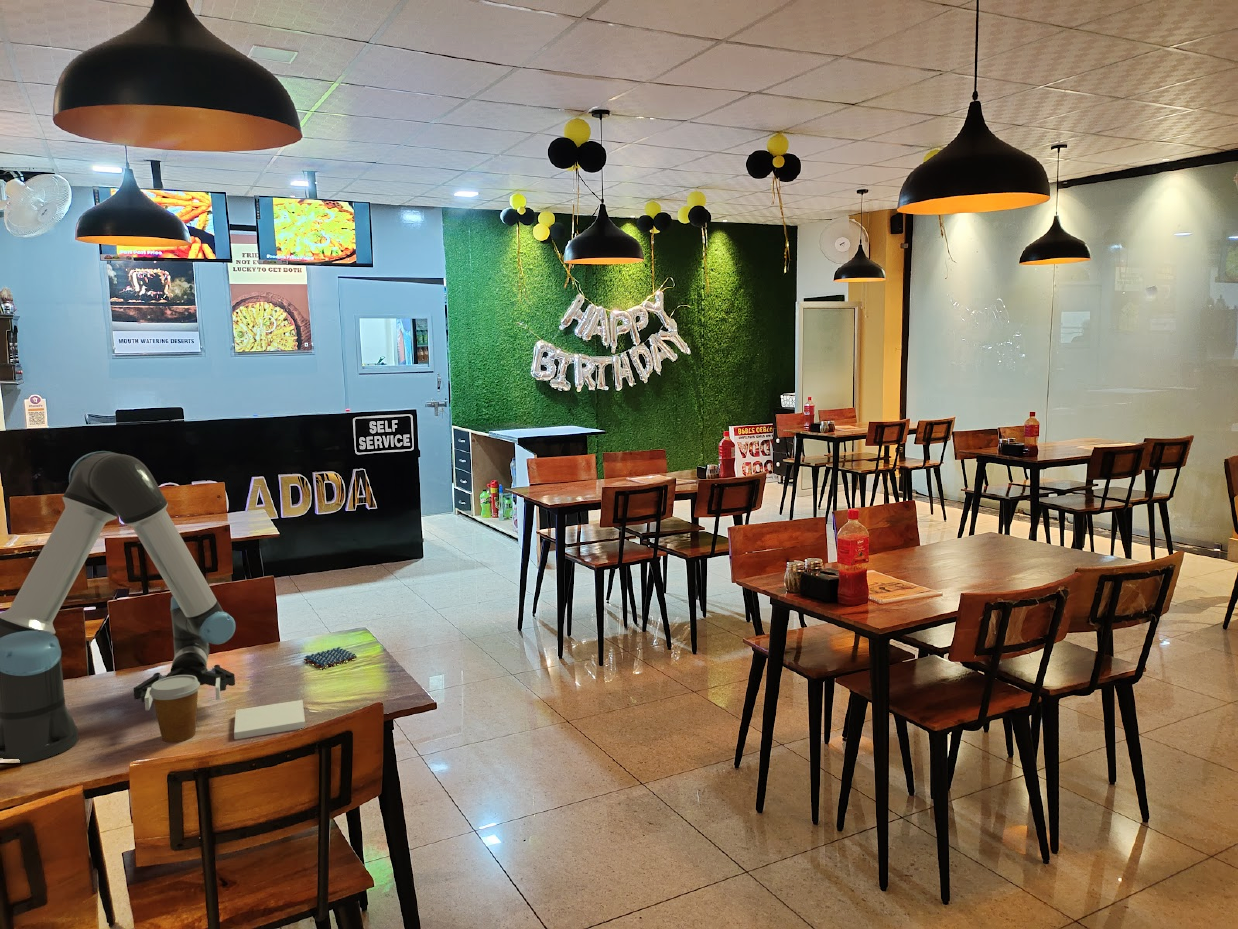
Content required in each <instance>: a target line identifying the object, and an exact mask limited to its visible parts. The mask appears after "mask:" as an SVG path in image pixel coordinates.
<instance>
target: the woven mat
mask: <svg viewBox="0 0 1238 929" xmlns="http://www.w3.org/2000/svg"><path fill="white" fill-rule="evenodd" d="M357 658H358V657H357V655H356V654H355V653H353V652H350V651H349V650H347V649H344V648H341V646H338V647H334V648H332V649H327V650H323V651H320V652H317V653H311V654H309V655H308V654H307V655H306V656H304V658H303V660H304V662H305V661H306V662H305V663H307V664H309V665H311V664H314V666H313V667H315V668H317V667H318V668H317V669H319V668H322V669H326V668H327V669H329V666H331V665H333V666H331V667H336V666H337V665H336V664H340V663H343V662H344V661H345V662H346V661H353V660H352V659H356V660H357ZM327 665H328V666H327ZM335 665H336V666H335ZM340 665H341V664H340ZM325 667H326V668H325Z"/></svg>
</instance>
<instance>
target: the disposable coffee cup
mask: <svg viewBox="0 0 1238 929" xmlns="http://www.w3.org/2000/svg"><path fill="white" fill-rule="evenodd" d="M200 686H201V685H200V682H198V680H197V677H195V676H192V675H177V676H171V677H166V678H163V679H160V680H158V681H156V682H154V683H153V684H152V686H151V690H150V691H149V693H150V695H151V697H152V698H153V700H152V703H153V705H154V711H155V714H156V720H157V723H158V728H159V732H160V735H161V741H163V742H164V743H169V744H174V743H181V742H185V741H188V740H190V739H192V738H194V736H196V728H197V727H196V726H197V714H198V713H197V709H198V695H199V694H198V693H199V689H200Z"/></svg>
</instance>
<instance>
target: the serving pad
mask: <svg viewBox="0 0 1238 929" xmlns="http://www.w3.org/2000/svg"><path fill="white" fill-rule="evenodd" d="M305 718H306V717H305V710H304V702H303V699H298V700H292V701H286V702H278V703H272V704H266V705H260V706H252V707H246V708H240V709H236V710H235V716H234V729H233V731H234V732H233V733H234V734H233V737H234V740H241V739H246V738H252V737H257V736H265V735H270V734H276V733H283V732H289V731H295V730H302V729H305V728H306V719H305ZM304 727H305V728H304ZM301 728H302V729H301Z"/></svg>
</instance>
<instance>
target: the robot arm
mask: <svg viewBox="0 0 1238 929" xmlns="http://www.w3.org/2000/svg"><path fill="white" fill-rule="evenodd" d="M68 474H69V475H68V483H69V484H68V487H67V488H66V490H65V492H64V494H63V495H62V497H61V498H62V501H63V504H64V510H63V512H62V513H61V515H60V517H59V519H58V520H57V522H56V524H55V526H54V528H53V529H52V531H51V533H50V535H49V537H48V538H47V540H46V542H45V544H44V545H43V547H42V549H41V551H40V553H39V555H38V557H37V559H36V560H35V562H34V564H33V566H32V567H31V570H30V571H29V572H28V575H27V576H26V578H25V580H24V582H23V584H22V586H21V588H20V589H19V591H18V593H17V594H16V596H15V598H14V600H13V602H12V603H11V606H10V607H9V608H8V609H7V610H5V611H1V612H0V758H3V759H19V760H20V763H21V764H26V763H32V762H37V761H42V760H44V759H48V758H51V757H54V756H57V755H59V754H61V753H64V752H66V751H68V750H70V749H71V748H73V747H74V746H75V745H76V744H77V743H78V741H79V729H78V726H77V724H76V723H75V721H74V719H73V717H72V715H71V713H70V712H69V710H68V707H67V706H66V699H65V686H64V678H63V677H64V676H63V667H62V649H61V648H62V647H61V646H60V641H59V638H58V637H57V636H56V635H55V634H56V632H57V631H56V630H55V629H56V628H54V624H53V622H54V620H55V618H56V616H57V614H58V613H59V611H60V609H61V607H62V606H63V604H64V601H65V600H66V598H67V596H68V595H69V592H70V590H71V588H72V586H73V585H74V583H75V582H76V579H77V577H78V575H79V574H80V571H81V570H82V568H83V566H84V564H85V562H86V560H87V559H88V557H89V555H90V553H91V552H92V550H93V548H94V546H95V544H96V542H97V540H98V538H99V536H100V534H101V532H102V531H103V529H104V526H105V525H106V523H108V522H111V521H114V520H117V518H118V516H119V518H120V520H121V521H122V522H123V525H125V526H130V527H131V528H132V529H133V531H134V532H135V534H136V537H137V538H138V539H139V541H140V542H141V544H142V546H143V548H144V550H145V551H146V553H147V554H148V556H149V558H150V560H151V561H152V563H153V564H154V566H155V568H156V570H157V571H158V573H159V575H160V576H161V577H162V580H163V581H164V583H165V585H166V586H167V588H168V589H169V592H170V594H171V595H172V596H171V598H170V616H171V623H172V624H171V625H172V634H173V635H172V636H173V637H172V638H173V652H174V655H173V656H174V657H173V660H172V663H171V668H170V671H169V672H168V673H167V674H165V675H162V674H161V672H155V673H153V675H152V676H151V677H149V678H147V679H146V680H144V681H142V682H141V683H139V684H137V685H136V686H135V687H133V690H132V691H133V700H135V701H136V700H140V702H141V703H144V706H145V707H144V708H145V709H144V710H145V711H150V710H151V707H152V703H153V698H152V697H151V695H150V693H149V691H150V690H151V686H152V684H153V683H154V682H156V681H158V680H160V679H163V678H166V677H171V676H177V675H192V676H195V677H197V680H198V682H200V686H204V685H208V686H212V687H215V688H214V689H215V700H216V701H217V700H221V692H224V691H226V690H227V686H229V687H230V686H231V687H233V686H235V685H236V677H235V673H234V672H232V671H229V670H227V669H225V668H223V667H221V665H220V664H215V665H213V667H211V668H209V669H208V668H207V665H208V658H209V655H210V644H211V645H221V644H225V643H226V642H229V640H230V639H231V638H233V636H234V634H235V631H236V621H235V619H234V617H232V616H231V615H230V614H229V613H228V612H226V611H224V610H223V608H222V606H221V605H220V603H219V601H218V600H217V598H216V596H215V594H214V592H213V591H212V589H211V587H210V585H209V584H208V582H207V580H206V578H205V576H204V575H203V573H202V572H201V570H200V568H199V566H198V565H197V563H196V561H195V559H194V558H193V556H192V554H191V551H190V550H189V548H188V547H187V545H186V543H185V541H184V539H183V538H182V535H181V534H180V533H179V531H178V529H177V527H176V525H175V524H174V522H173V520H172V517H170V514H169V513H168V511H167V508H168V505H169V503H168V501H167V499H166V498H165V496H164V494H163V492H162V490H161V488H160V487H159V485H158V483H157V481H156V480H155V478H154V476H153V474H152V473H151V471H150V470H149V469H148V467H147V466H146V465H145V463H144V462H142V461H141V460H140V459H138V458H136V457H134V456H132V455H129V454H128V455H127V454H124V453H123V454H121V453H116V452H112V451H106V450H101V451H94V452H93V451H92V452H90V453H87V454H85V455H82V456H81V457H80V458H78V459H77V460H76V461H75V462H74V463H73V465H72V466H71V468H70V471H69V473H68ZM67 749H68V750H67ZM58 753H59V754H58ZM56 754H57V755H56ZM50 756H51V757H50Z"/></svg>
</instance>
